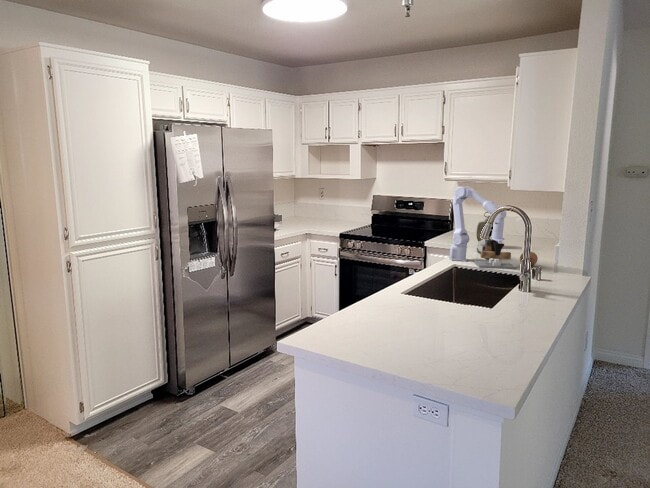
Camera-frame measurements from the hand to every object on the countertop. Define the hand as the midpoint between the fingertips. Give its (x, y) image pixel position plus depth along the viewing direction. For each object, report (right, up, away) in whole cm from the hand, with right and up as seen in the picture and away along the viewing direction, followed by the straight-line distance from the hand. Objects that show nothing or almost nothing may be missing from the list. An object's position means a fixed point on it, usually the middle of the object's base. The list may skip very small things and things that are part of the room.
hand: (495, 253), depth 270 cm
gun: (+4, -2, +31) cm, 31 cm away
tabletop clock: (+16, +3, +62) cm, 64 cm away
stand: (0, -7, +1) cm, 7 cm away
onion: (+20, -7, +4) cm, 22 cm away
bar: (0, -2, 0) cm, 2 cm away
